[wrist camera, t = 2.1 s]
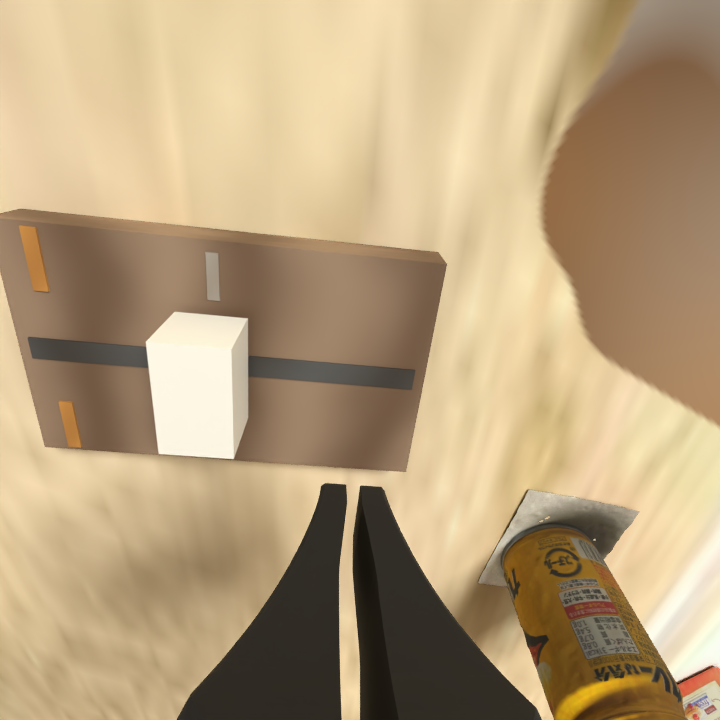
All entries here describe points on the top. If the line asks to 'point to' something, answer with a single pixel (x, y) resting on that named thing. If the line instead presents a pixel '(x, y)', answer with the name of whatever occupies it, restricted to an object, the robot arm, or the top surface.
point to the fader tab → (199, 384)
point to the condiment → (580, 612)
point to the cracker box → (702, 695)
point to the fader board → (232, 299)
